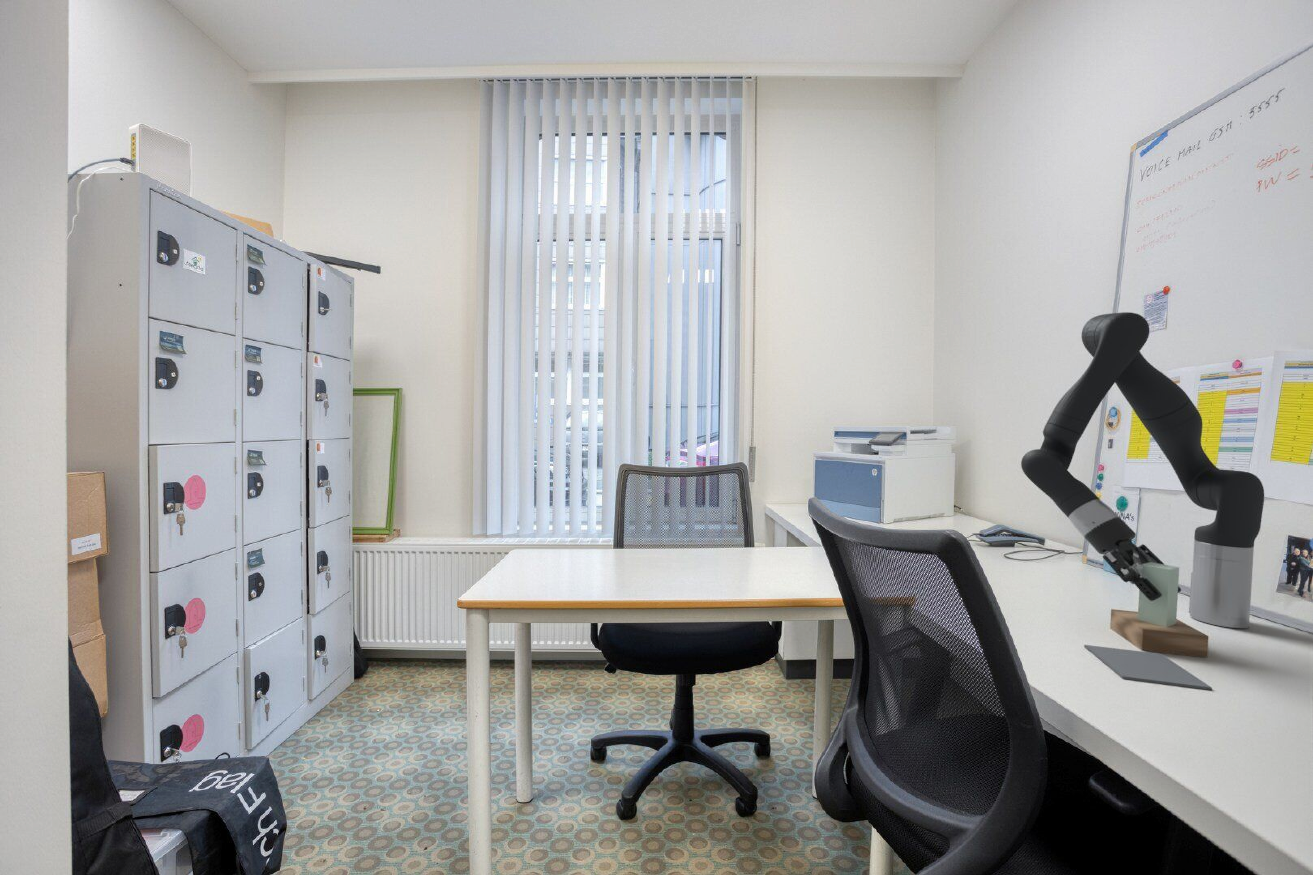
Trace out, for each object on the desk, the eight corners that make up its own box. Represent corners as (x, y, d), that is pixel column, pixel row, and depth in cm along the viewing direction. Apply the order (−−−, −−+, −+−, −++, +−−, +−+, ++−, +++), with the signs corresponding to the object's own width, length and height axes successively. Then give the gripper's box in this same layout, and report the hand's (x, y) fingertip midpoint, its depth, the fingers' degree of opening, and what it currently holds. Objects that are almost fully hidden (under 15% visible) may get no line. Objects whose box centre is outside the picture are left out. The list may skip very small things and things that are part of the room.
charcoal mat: (1084, 646, 107) (1084, 644, 107) (1160, 655, 104) (1160, 653, 104) (1122, 678, 94) (1122, 676, 94) (1211, 689, 90) (1211, 687, 90)
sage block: (1137, 619, 112) (1140, 564, 111) (1147, 616, 114) (1150, 562, 113) (1166, 627, 108) (1169, 569, 107) (1176, 623, 110) (1179, 567, 110)
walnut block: (1110, 628, 118) (1111, 609, 118) (1168, 634, 115) (1169, 614, 115) (1141, 650, 106) (1142, 629, 106) (1207, 657, 104) (1208, 636, 104)
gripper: (1099, 517, 113) (1169, 590, 104) (1132, 513, 120) (1201, 581, 110) (1068, 538, 118) (1132, 610, 108) (1101, 534, 125) (1165, 600, 115)
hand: (1166, 595), depth 109 cm, fingers open, 8 cm apart
